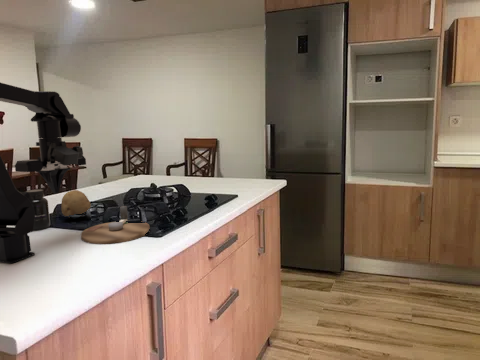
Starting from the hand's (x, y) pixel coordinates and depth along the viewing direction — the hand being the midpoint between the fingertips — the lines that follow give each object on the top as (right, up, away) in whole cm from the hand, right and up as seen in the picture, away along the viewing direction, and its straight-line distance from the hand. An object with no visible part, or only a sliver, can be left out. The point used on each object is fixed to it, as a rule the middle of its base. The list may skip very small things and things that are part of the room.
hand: (55, 193), depth 107 cm
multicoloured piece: (+16, -10, +6) cm, 20 cm away
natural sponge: (-3, -10, +22) cm, 24 cm away
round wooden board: (+16, -12, +3) cm, 20 cm away
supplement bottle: (-11, -12, +12) cm, 20 cm away
